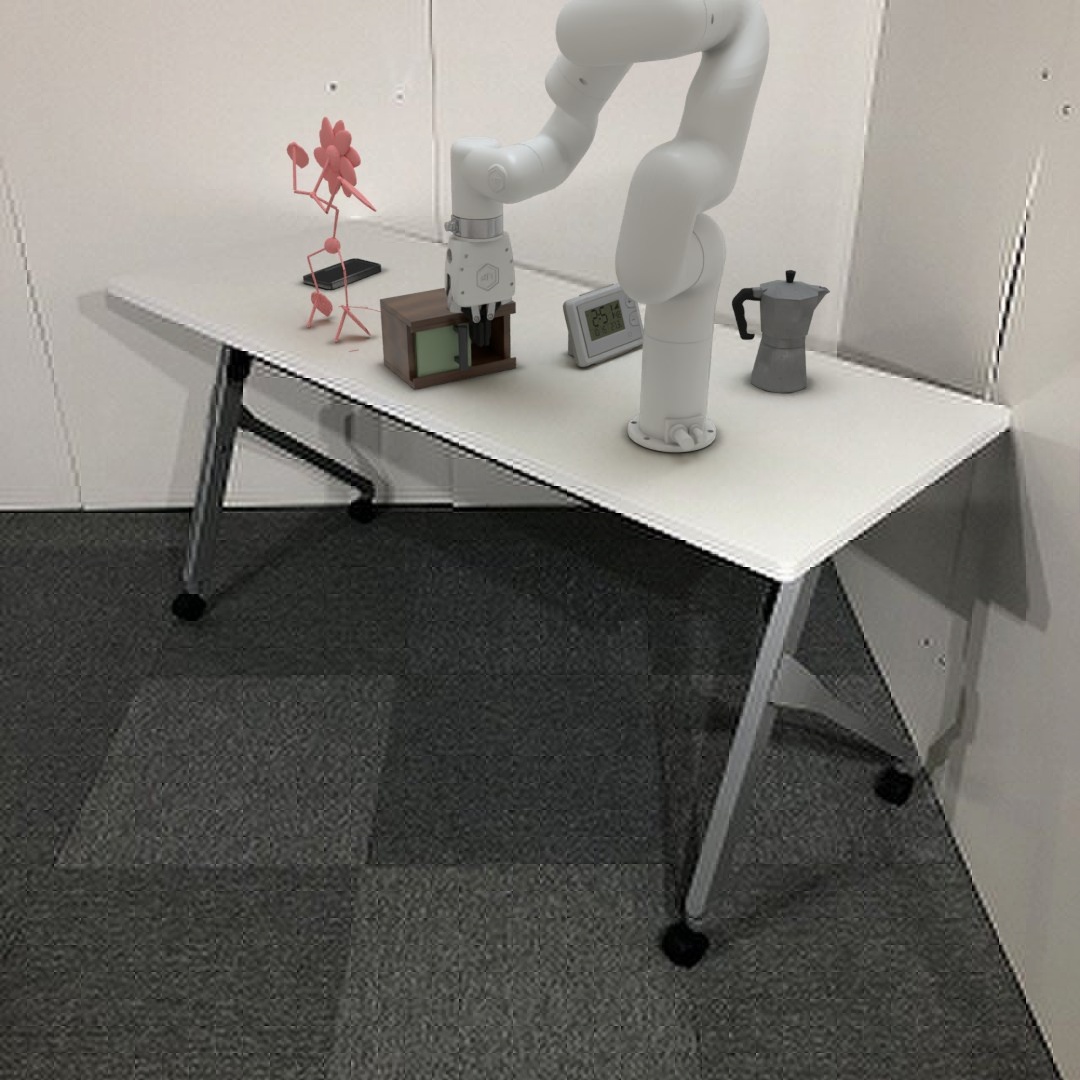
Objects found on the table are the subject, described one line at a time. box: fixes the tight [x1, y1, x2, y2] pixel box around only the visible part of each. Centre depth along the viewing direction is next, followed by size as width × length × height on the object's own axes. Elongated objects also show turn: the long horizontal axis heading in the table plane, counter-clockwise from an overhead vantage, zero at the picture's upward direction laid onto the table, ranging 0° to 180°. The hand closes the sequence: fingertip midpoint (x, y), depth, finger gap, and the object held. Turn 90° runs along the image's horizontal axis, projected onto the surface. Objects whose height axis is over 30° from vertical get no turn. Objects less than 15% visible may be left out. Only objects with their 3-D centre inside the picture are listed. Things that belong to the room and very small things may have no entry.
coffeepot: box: [731, 269, 831, 394], centre depth 184 cm, size 15×9×18 cm, turn 101°
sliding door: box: [416, 322, 471, 377], centre depth 185 cm, size 4×9×8 cm, turn 120°
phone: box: [302, 257, 382, 290], centre depth 232 cm, size 8×1×15 cm
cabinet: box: [379, 287, 517, 390], centre depth 191 cm, size 12×18×11 cm, turn 120°
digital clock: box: [562, 282, 644, 368], centre depth 196 cm, size 16×9×11 cm, turn 123°
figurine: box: [286, 116, 381, 353], centre depth 200 cm, size 15×26×35 cm, turn 40°
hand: (480, 343), depth 186 cm, fingers closed
